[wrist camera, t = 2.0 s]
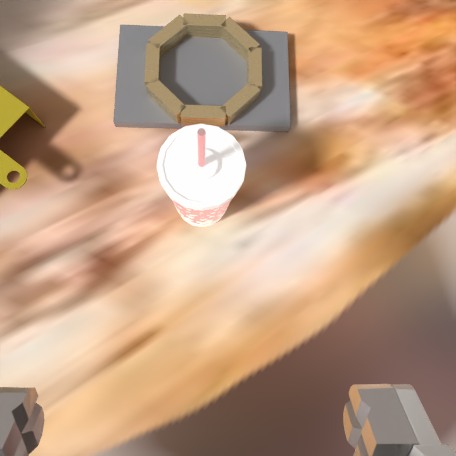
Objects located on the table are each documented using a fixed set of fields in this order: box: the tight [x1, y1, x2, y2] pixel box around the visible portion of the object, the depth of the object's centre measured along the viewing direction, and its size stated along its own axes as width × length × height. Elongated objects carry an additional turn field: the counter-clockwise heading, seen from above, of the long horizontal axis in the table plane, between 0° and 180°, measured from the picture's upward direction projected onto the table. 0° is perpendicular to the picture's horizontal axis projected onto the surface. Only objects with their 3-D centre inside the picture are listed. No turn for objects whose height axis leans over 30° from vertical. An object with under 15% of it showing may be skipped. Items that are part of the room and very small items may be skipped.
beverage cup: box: [157, 124, 246, 227], centre depth 30 cm, size 6×6×14 cm
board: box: [114, 25, 291, 132], centre depth 39 cm, size 16×10×1 cm, turn 90°
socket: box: [144, 14, 262, 127], centre depth 38 cm, size 10×10×2 cm
